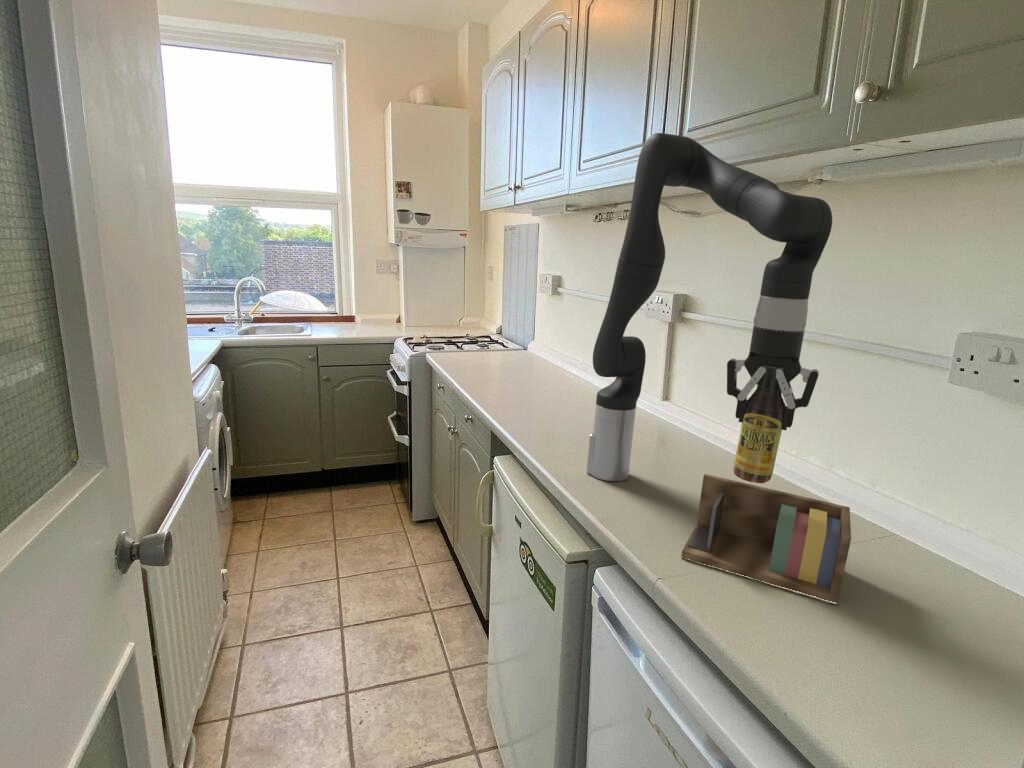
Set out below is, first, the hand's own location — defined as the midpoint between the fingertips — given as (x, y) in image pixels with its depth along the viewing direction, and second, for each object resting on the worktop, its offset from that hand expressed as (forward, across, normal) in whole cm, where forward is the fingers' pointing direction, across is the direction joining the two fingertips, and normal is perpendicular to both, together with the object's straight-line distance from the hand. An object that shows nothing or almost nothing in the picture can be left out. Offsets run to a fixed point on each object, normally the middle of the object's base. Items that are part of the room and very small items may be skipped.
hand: (762, 424), depth 94 cm
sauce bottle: (+10, 0, 0) cm, 10 cm away
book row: (+23, -9, 0) cm, 25 cm away
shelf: (+25, -3, 0) cm, 25 cm away
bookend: (+23, +6, 0) cm, 24 cm away
